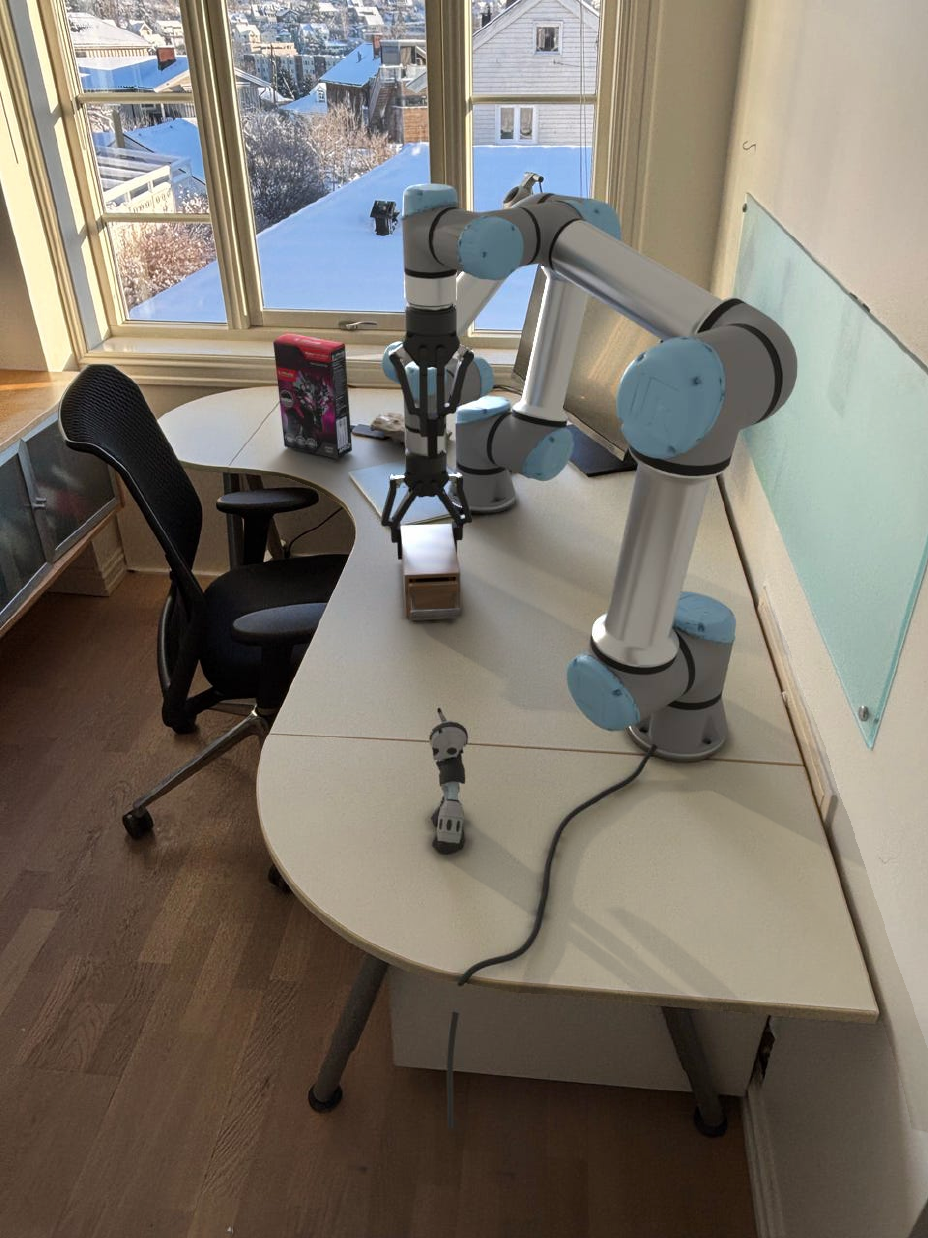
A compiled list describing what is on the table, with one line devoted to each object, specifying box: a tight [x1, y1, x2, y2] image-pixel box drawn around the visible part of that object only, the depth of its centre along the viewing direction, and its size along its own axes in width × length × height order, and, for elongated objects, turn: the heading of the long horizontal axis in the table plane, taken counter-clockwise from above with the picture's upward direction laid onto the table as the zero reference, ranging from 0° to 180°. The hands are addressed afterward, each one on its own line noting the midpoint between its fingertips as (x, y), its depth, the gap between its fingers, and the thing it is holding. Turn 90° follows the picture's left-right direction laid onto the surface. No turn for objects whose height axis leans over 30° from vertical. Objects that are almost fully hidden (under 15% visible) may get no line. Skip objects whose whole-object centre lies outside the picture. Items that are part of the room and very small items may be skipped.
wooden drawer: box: [408, 577, 462, 621], centre depth 169 cm, size 24×9×7 cm, turn 6°
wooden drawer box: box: [400, 523, 461, 618], centre depth 174 cm, size 19×10×9 cm, turn 6°
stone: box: [369, 412, 453, 444], centre depth 234 cm, size 21×15×6 cm
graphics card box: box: [272, 332, 353, 460], centre depth 223 cm, size 17×7×27 cm, turn 62°
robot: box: [428, 707, 469, 855], centre depth 120 cm, size 20×5×20 cm, turn 3°
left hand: (427, 555), depth 180 cm, fingers closed on wooden drawer box, 10 cm apart
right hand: (432, 454), depth 146 cm, fingers closed
